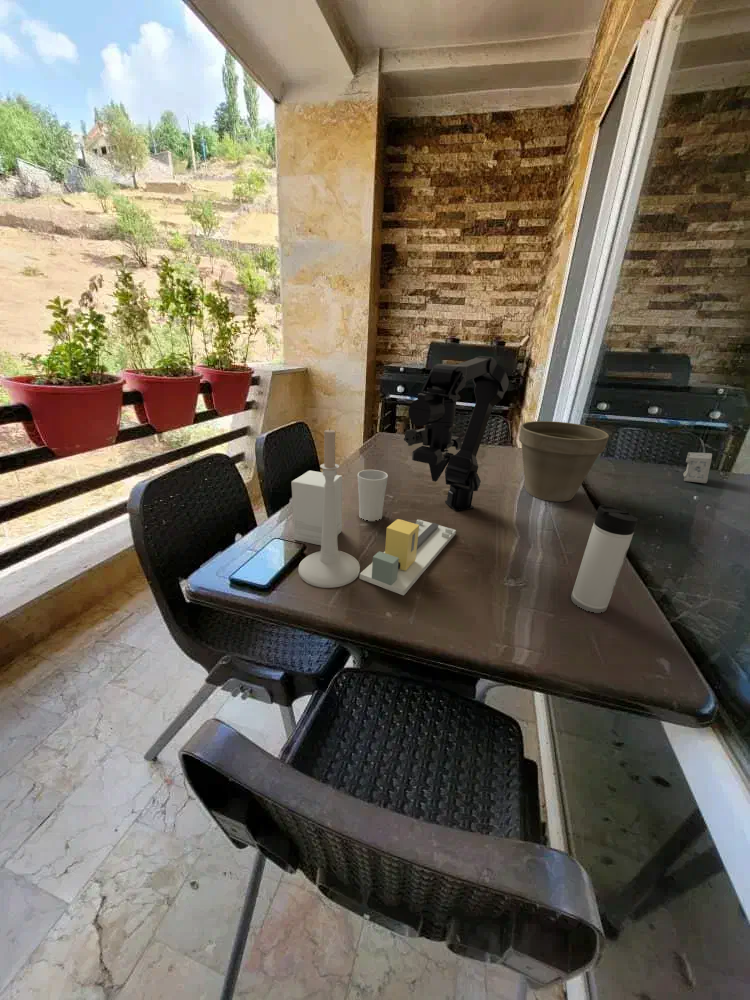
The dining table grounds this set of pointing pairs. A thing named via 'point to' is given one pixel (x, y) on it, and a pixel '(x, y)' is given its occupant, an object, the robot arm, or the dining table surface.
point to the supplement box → (313, 506)
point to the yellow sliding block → (402, 542)
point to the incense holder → (697, 467)
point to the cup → (371, 493)
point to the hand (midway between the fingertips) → (434, 481)
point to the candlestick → (329, 534)
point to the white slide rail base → (399, 581)
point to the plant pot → (558, 457)
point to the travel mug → (603, 558)
